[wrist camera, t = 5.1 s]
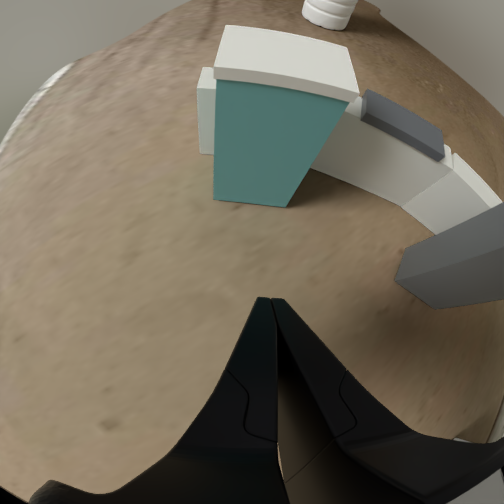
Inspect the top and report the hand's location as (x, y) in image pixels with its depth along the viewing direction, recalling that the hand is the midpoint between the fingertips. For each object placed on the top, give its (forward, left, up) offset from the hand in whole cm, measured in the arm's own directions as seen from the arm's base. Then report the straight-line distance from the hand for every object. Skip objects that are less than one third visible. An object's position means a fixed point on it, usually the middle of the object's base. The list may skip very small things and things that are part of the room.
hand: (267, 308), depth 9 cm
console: (+2, -13, -9) cm, 16 cm away
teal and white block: (+7, -6, -9) cm, 13 cm away
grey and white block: (-7, -13, -9) cm, 17 cm away
